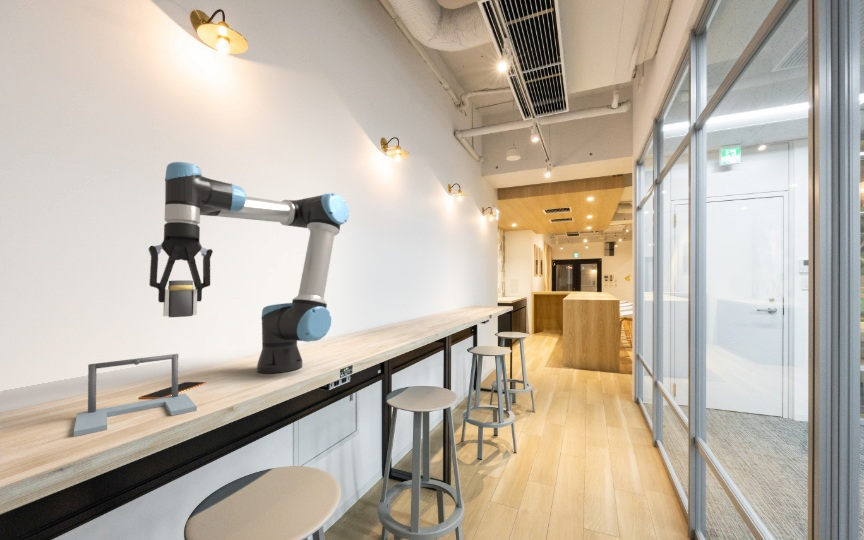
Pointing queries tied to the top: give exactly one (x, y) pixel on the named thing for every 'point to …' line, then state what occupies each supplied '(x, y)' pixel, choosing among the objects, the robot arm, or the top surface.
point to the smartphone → (168, 391)
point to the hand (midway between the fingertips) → (180, 315)
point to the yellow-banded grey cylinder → (180, 298)
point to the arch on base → (98, 418)
